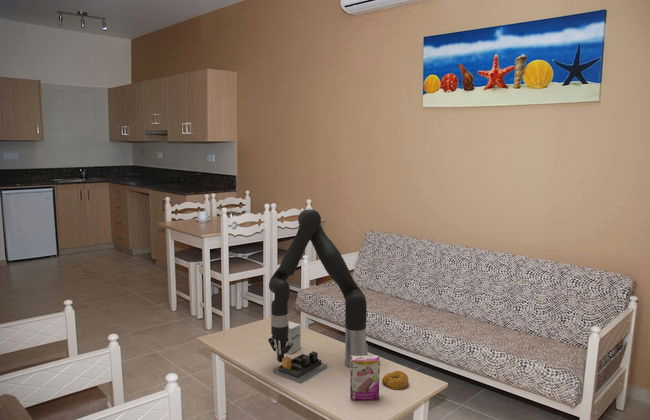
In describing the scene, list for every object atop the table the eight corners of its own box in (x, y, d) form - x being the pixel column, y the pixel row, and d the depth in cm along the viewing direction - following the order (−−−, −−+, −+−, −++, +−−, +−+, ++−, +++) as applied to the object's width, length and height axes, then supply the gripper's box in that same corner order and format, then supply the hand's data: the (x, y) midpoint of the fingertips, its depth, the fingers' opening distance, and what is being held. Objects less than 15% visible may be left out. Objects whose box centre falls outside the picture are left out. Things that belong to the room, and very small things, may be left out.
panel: (272, 372, 215) (272, 358, 214) (299, 358, 229) (299, 344, 228) (301, 383, 205) (301, 367, 204) (327, 367, 219) (327, 353, 218)
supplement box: (291, 354, 233) (290, 328, 231) (279, 350, 237) (279, 325, 236) (301, 349, 239) (301, 324, 237) (289, 345, 243) (289, 320, 242)
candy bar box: (350, 401, 191) (351, 360, 189) (349, 394, 196) (349, 355, 194) (379, 400, 191) (380, 360, 189) (377, 393, 196) (378, 354, 194)
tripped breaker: (282, 369, 214) (282, 358, 213) (286, 367, 216) (286, 356, 215) (286, 371, 212) (286, 360, 212) (291, 368, 215) (290, 357, 214)
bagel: (386, 376, 211) (386, 365, 210) (411, 382, 206) (411, 371, 206) (378, 387, 202) (378, 376, 202) (404, 393, 197) (404, 382, 197)
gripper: (297, 324, 213) (297, 362, 215) (274, 317, 221) (275, 354, 223) (285, 329, 207) (286, 368, 209) (262, 322, 215) (263, 360, 217)
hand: (280, 361), depth 216 cm, fingers closed
